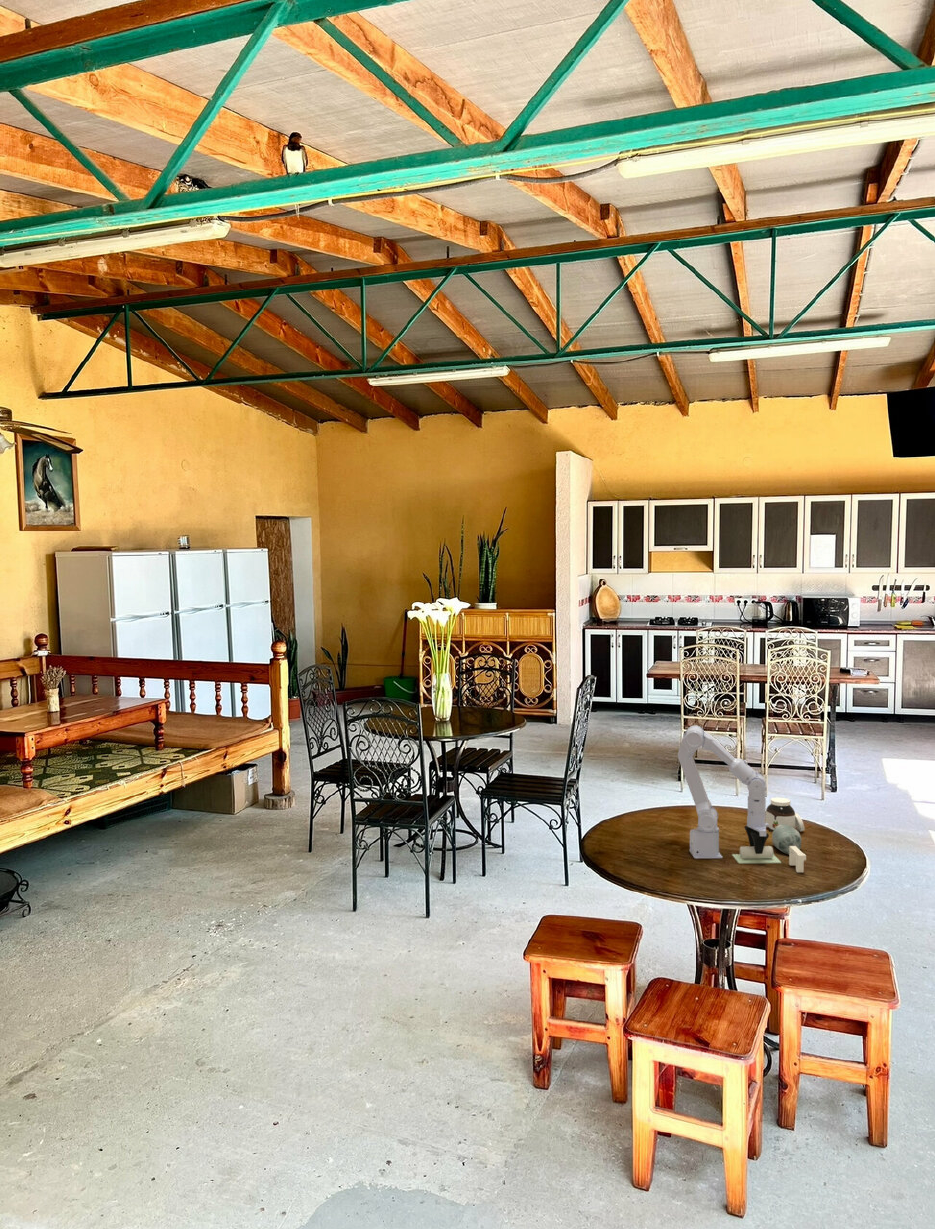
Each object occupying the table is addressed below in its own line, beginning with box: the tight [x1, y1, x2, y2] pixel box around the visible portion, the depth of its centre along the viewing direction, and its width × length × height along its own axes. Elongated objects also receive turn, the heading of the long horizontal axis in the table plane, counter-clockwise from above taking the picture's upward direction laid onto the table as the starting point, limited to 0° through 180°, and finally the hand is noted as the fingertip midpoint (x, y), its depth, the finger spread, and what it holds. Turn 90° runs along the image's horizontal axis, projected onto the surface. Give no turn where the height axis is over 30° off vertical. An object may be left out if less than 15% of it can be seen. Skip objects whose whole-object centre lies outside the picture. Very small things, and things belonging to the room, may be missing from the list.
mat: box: [731, 853, 782, 864], centre depth 292 cm, size 14×8×1 cm, turn 89°
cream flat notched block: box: [788, 846, 807, 873], centre depth 281 cm, size 2×9×6 cm, turn 179°
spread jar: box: [765, 796, 806, 833], centre depth 320 cm, size 12×11×12 cm
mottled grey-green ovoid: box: [771, 825, 802, 855], centre depth 300 cm, size 14×10×10 cm
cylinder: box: [739, 845, 774, 859], centre depth 292 cm, size 10×4×4 cm, turn 89°
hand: (756, 850), depth 292 cm, fingers open, 5 cm apart
